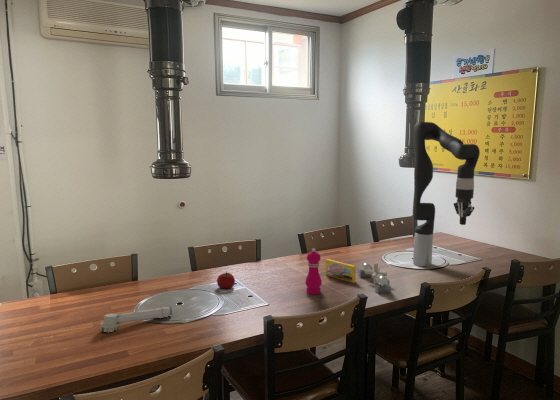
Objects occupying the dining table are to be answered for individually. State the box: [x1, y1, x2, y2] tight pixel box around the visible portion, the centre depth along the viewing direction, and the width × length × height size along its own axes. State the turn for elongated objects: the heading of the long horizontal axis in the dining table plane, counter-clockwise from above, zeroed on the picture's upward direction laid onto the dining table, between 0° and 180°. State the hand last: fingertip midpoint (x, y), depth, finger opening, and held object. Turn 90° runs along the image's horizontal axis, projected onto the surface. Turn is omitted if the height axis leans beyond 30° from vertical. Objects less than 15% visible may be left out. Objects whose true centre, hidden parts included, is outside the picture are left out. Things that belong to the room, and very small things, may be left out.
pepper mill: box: [304, 248, 323, 295], centre depth 179 cm, size 7×7×20 cm
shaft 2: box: [374, 274, 392, 295], centre depth 180 cm, size 6×6×7 cm
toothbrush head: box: [100, 306, 173, 333], centre depth 151 cm, size 5×7×25 cm
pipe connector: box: [365, 261, 388, 285], centre depth 189 cm, size 10×10×10 cm
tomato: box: [216, 271, 236, 289], centre depth 186 cm, size 8×8×7 cm
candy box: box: [325, 258, 356, 284], centre depth 196 cm, size 16×2×8 cm, turn 47°
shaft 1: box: [357, 260, 373, 279], centre depth 198 cm, size 6×6×7 cm
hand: (462, 224), depth 189 cm, fingers closed
